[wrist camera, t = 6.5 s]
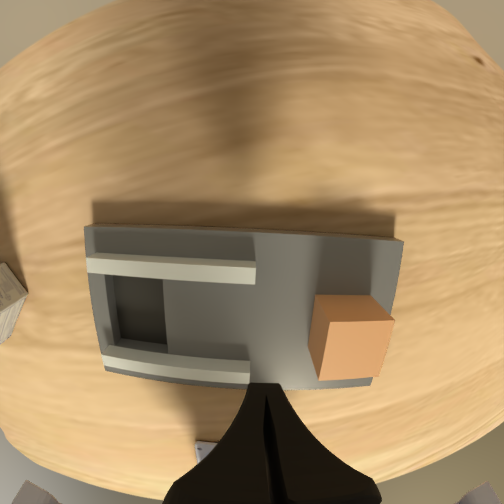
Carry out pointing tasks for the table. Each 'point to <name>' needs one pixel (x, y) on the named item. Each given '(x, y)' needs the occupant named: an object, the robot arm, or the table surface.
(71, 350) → the table surface
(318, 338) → the block
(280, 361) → the channel
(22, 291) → the medicine box
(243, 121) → the table surface
